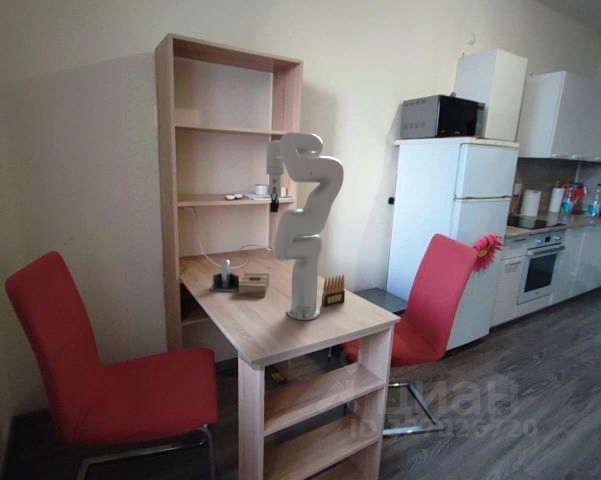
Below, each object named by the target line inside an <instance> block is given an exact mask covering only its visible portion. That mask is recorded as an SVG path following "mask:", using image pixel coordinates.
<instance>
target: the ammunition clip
mask: <svg viewBox="0 0 601 480" xmlns="http://www.w3.org/2000/svg"><path fill="white" fill-rule="evenodd" d="M334 277H335V278H334ZM322 292H323V293H322V296H321V297H322V298H321V305H320V306H321V307H324V308H327V307H331V306H334V305H338V304H342V303H343V304H344V303H345V301H346V300H345V299H346V297H345V296H346V295H345V293H346V292H345V275H344V274H342V276H341V274H340V275H338V276H337V275H336V276H332V277H330V276H329V277H328V278H327V277H325V278H324V284H323V290H322Z"/></svg>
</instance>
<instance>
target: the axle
mask: <svg viewBox="0 0 601 480" xmlns="http://www.w3.org/2000/svg"><path fill="white" fill-rule="evenodd" d="M230 261H231V260H230V259H226V258H225V259H220V263H221V264H220V266H221V267H220V269H221V270H220V271H221V272H220V273H221V280H222V287H223V288H228V287H230V272H231V271H230V269H231V264H230Z"/></svg>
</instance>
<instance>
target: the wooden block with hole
mask: <svg viewBox="0 0 601 480" xmlns="http://www.w3.org/2000/svg"><path fill="white" fill-rule="evenodd" d="M239 282H240V284H239V290H238V296H239V297H255V298H266V294H267V292H268V288H269V286H270V273H269V272H268V273H266V272H265V273H264V272H244V275H243V277H242V278H241V280H240V281H239Z"/></svg>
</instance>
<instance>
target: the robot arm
mask: <svg viewBox="0 0 601 480" xmlns="http://www.w3.org/2000/svg"><path fill="white" fill-rule="evenodd" d="M323 148H324V144H323V141H322V139H321V137H320V136H317V135H316V134H314V133H306V132H293V131H292V132H286V133H285V134H283V135H282V136H281V138H280V140H277V139H275V140H272V141H268V142H267V143H266V167H265V168H266V175H268V190H269V192H268V193H269V198H270V203H269V204H270V205H269V206H270V210H269V211H270V213H279V208H280V200H279V199H280V198H282V191H283V190H282V188H283V187H282V185H283V184H282V176H284V175H285V170H286V172H287V174H288V176H289V178H290V180H291V181H293V182H294V183H299V184H303V183H307V184H309V183H311V184H312V183H313V184H314V183H315V184H316V183H319V184H318V185H317V186H316V187H315V188H314V189H313V190H312V191H311V192H310V193H309V194H308V196H307V197H306V202H305V205H304V207H301V208H290V209H285V211H283V212H282V213H281V215H280V218H279V220H278V225H277V230H276V234H275V238H274V243H273V253H274V255H275V257H276V258H277V259H278V260H279V261H293V260H295V262H294V264H293V267H292V271H291V273H292V274H291V275H292V276H291V303H290V306H289V307H287V309H286V314H287V315H288V316H289V317H290V318H291V319H295V320H299V321H309V320H314V319H317V318H318V317H320V315H321V310H320V308H319V307H318V306H317V300H318V299H317V297H318V281H319V280H318V279H319V262H320V258H321V257H320V256H321V253H322V249H323V248H322V247H323V242H322V237H321V236H320V235H321V234H322V232H324V229H325V227H326V224H327V221H328V218H329V215H330V213H331V209H332V206H333V203H334V202H335V200H336V198H337V197H338V195H339V193H340V191H341V189H342V186H343V183H344V175H345V173H344V166H343V163H342V162H341V160H339V159H337V158H335V157H333V156H332V157H331V156H326V155H321V154H322V151H323Z"/></svg>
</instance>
